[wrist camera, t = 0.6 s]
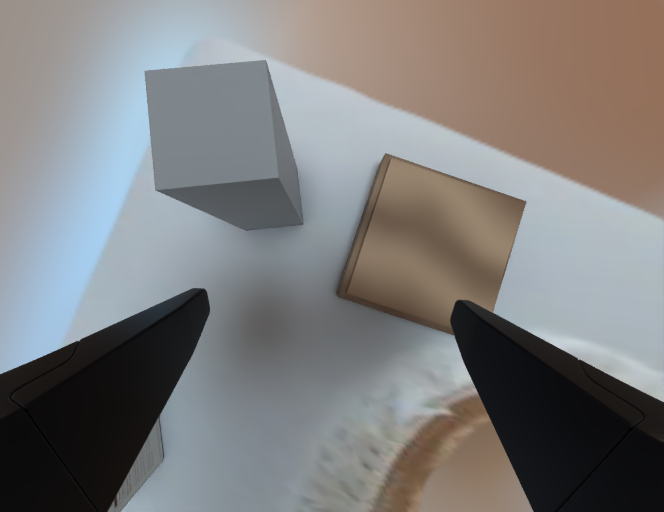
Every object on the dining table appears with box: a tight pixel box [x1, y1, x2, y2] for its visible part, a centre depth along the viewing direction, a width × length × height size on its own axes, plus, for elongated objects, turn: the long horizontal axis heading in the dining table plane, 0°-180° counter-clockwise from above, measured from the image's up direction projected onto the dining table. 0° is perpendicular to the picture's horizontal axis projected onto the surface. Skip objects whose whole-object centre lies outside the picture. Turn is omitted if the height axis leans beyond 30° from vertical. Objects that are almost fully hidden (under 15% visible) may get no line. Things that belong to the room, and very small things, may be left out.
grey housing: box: [145, 60, 303, 231], centre depth 17 cm, size 5×5×12 cm
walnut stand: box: [337, 153, 526, 335], centre depth 21 cm, size 12×12×3 cm
